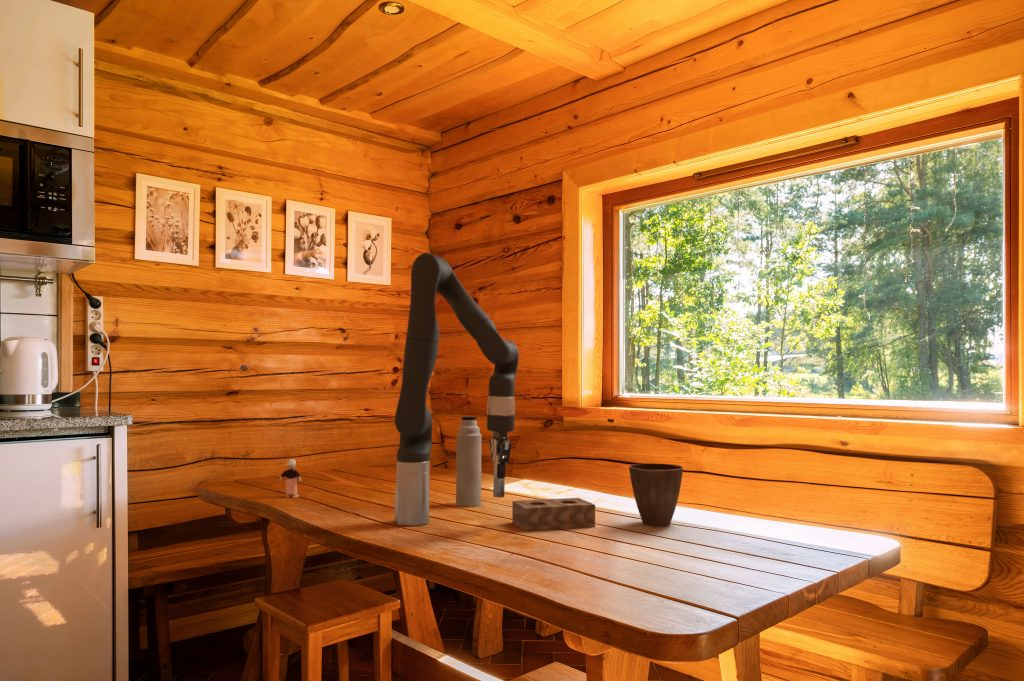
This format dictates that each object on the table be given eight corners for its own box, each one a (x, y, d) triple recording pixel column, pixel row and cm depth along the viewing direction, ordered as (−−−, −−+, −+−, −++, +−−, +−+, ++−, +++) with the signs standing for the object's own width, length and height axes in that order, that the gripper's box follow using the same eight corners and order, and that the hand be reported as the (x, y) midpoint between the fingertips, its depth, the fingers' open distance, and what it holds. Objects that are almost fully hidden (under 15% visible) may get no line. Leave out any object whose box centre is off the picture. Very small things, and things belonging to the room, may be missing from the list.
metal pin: (494, 497, 200) (496, 444, 201) (491, 495, 203) (493, 443, 204) (505, 497, 201) (507, 444, 202) (502, 495, 204) (503, 443, 205)
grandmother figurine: (303, 495, 255) (303, 458, 256) (300, 497, 251) (301, 459, 252) (280, 496, 255) (280, 458, 255) (277, 497, 251) (278, 459, 252)
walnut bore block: (525, 531, 200) (525, 507, 200) (512, 522, 211) (512, 500, 212) (595, 526, 206) (595, 504, 206) (578, 518, 217) (578, 497, 218)
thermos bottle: (458, 502, 244) (459, 415, 245) (482, 502, 243) (483, 416, 244) (454, 506, 236) (454, 417, 237) (479, 507, 235) (479, 417, 236)
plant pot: (659, 531, 200) (659, 471, 200) (617, 523, 211) (617, 465, 212) (694, 524, 209) (694, 467, 210) (652, 516, 221) (652, 462, 221)
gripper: (480, 411, 209) (479, 474, 208) (494, 414, 195) (492, 481, 195) (506, 411, 211) (505, 473, 210) (522, 414, 198) (520, 481, 197)
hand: (499, 477), depth 202 cm, fingers closed on metal pin, 3 cm apart
